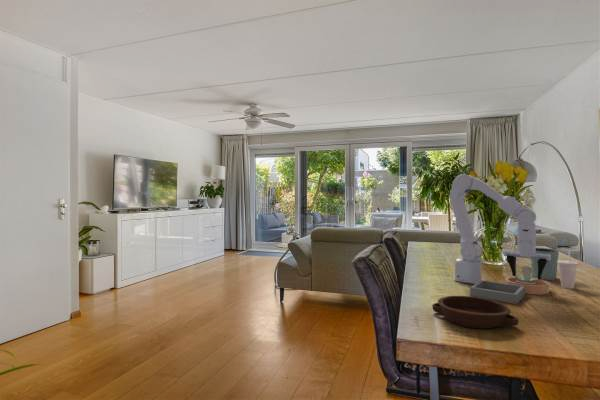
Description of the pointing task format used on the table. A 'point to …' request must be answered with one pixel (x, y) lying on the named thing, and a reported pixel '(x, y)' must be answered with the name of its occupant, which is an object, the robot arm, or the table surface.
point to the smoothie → (567, 272)
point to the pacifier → (526, 276)
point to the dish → (474, 312)
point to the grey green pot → (550, 266)
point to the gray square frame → (498, 291)
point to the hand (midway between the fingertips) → (526, 277)
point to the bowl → (531, 286)
